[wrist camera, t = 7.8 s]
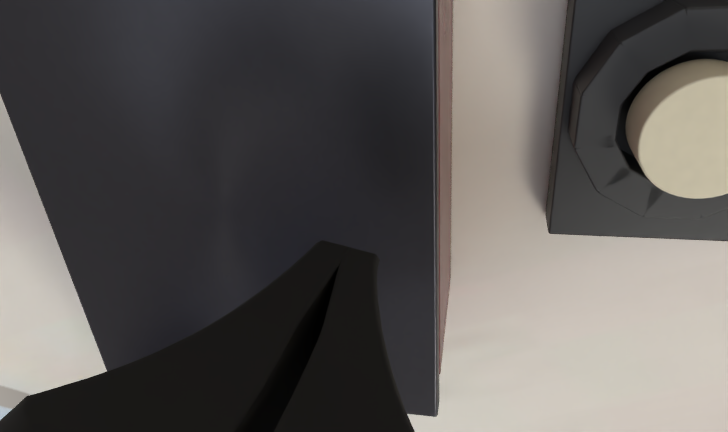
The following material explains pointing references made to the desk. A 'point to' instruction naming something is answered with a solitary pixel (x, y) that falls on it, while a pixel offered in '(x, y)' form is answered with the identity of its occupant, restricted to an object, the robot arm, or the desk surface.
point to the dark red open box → (444, 160)
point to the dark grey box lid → (232, 157)
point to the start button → (683, 129)
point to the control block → (608, 118)
